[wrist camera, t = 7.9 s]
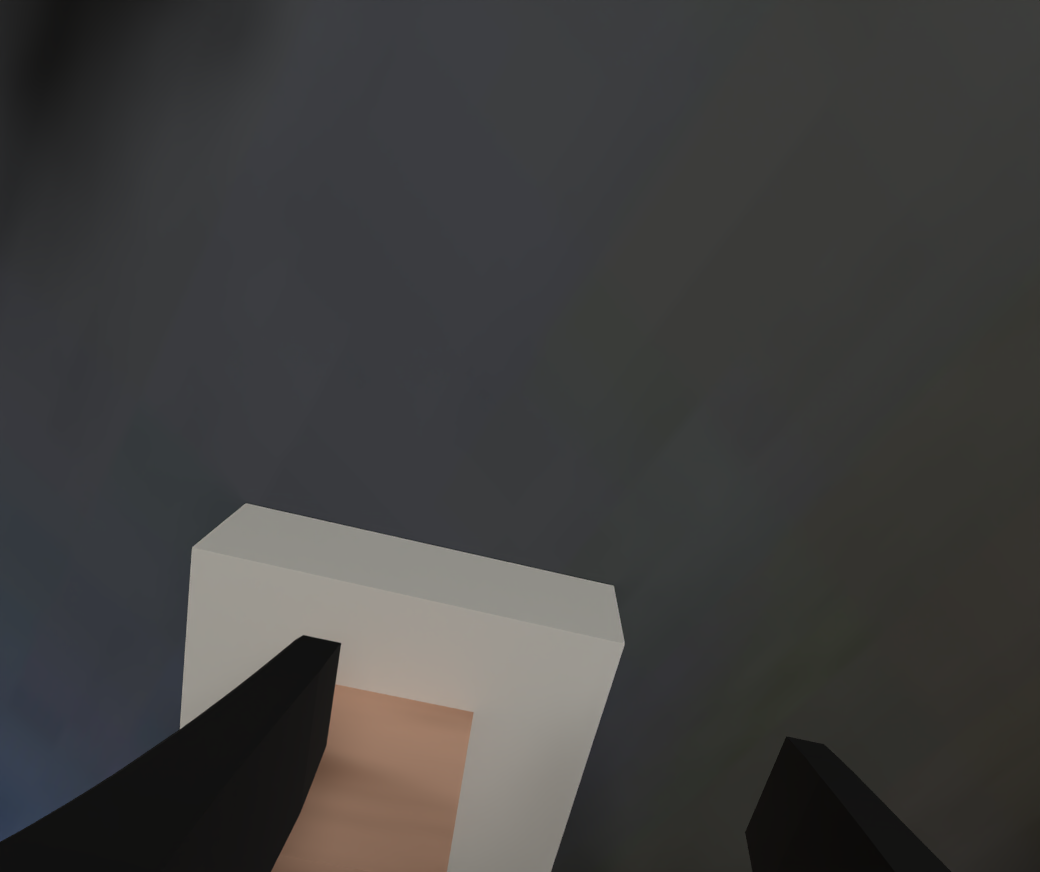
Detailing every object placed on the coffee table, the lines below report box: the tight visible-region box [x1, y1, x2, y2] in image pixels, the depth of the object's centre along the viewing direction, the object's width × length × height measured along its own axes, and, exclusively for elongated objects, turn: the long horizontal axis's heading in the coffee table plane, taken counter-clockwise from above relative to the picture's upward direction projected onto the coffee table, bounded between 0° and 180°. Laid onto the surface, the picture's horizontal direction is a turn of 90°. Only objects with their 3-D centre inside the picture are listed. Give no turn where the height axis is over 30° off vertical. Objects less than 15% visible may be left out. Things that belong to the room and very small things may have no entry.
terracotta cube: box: [271, 684, 474, 872], centre depth 16 cm, size 5×5×5 cm
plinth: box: [180, 503, 625, 872], centre depth 20 cm, size 12×12×3 cm
